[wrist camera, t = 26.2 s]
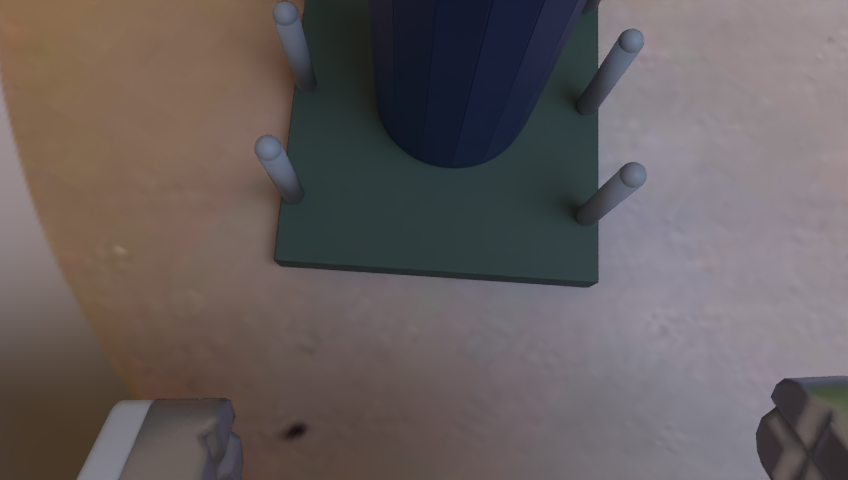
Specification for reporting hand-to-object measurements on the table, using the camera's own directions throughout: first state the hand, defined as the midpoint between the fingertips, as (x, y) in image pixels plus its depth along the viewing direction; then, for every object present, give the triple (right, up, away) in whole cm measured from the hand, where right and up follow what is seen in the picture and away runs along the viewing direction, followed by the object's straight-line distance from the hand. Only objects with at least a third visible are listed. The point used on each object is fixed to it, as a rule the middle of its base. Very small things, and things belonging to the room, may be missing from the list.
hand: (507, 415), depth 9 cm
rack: (0, +8, +16) cm, 18 cm away
